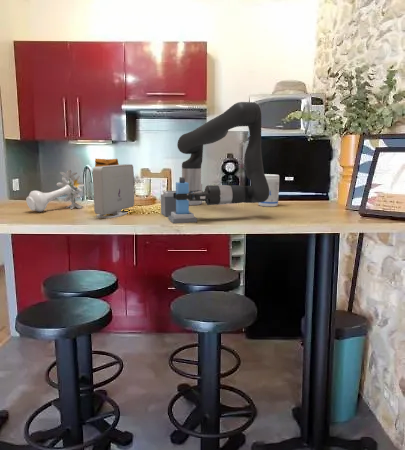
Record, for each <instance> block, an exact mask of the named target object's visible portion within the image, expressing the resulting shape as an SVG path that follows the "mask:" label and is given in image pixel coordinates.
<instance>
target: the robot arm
mask: <svg viewBox="0 0 405 450" xmlns="http://www.w3.org/2000/svg"><path fill="white" fill-rule="evenodd" d="M237 127H238V128H239V127H247V128H248V133H249V138H248V143H247V146H246V149H245V152H244V158H243V159H244V168H245V175H246V178H247V179H249V181H250V184H251V185H240V184H239V185H238V184H237V185H233V184H232V185H226V184H215V185H211V184H210V185H209V184H208V185H206V186H205V188H204V190H203V184H202V165H203V158H204V157H203V156H204V155H203V153H204V152H203V151H204V146H206V145H210V144H214V143H216V142H218V141H221V140H222V139H224V138H225V137H226V136H227V135H228V133H229V130H231V129H233V128H237ZM177 149H178V151H179V152H180V153H182V154H185V155H190V157H189V158H188V159H187V160H184V161H183V162H182V163H181V177H185V182H187V183H189V193H187V194H176V193H173V198H175V199H176V200H189V206H198V205H202V204H203V202H205V204H206V205H207V206H217V205H218V206H221V205H228V204H241V203H244V204H247V203H248V204H258V203H259V202H264V201H266V200H267V199H268V197H269V186H268V183H267V180H266V177H265V175H264V174H265V170H264V164H263V154H262V110H261V107H260V105H259V104H258V103H257V102H254V101H239V102H235V103H234V104H233V105H231V106H230V107H229V108H228V109H226V110H225V111H224V112H222V113H221V114H219V115H218V116H216V117H214V118H212V119H210V120H208V121H206V122H205V123H204V124H202V125H200V126H199V127H197V128H195V129H193V130H191V131H189V132H186V133H184V134H183V133H182V135H180V137H179V138H178V139H177Z"/></svg>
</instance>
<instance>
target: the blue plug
mask: <svg viewBox="0 0 405 450" xmlns="http://www.w3.org/2000/svg"><path fill="white" fill-rule="evenodd" d="M175 191H176V194H187V193H189V183H187V182H185V177H182V176H181V177H179V181H178V182H175ZM189 211H190V205H189V200H176V214H189Z"/></svg>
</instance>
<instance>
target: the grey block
mask: <svg viewBox="0 0 405 450" xmlns="http://www.w3.org/2000/svg"><path fill="white" fill-rule="evenodd" d="M162 193H163V194H160V214H161V215H162V216H163V217H165V218H168V215H171V212H176V199H175V198H173V193H176V190H163V192H162Z"/></svg>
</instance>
